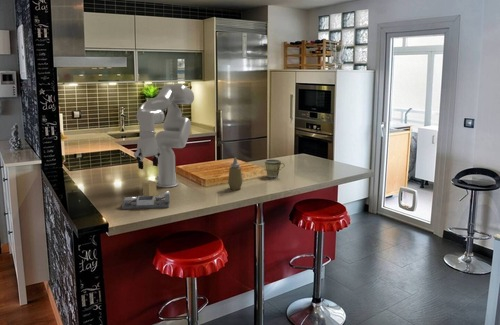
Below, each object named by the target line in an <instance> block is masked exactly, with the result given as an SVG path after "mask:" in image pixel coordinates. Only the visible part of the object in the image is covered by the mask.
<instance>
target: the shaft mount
mask: <svg viewBox="0 0 500 325" xmlns="http://www.w3.org/2000/svg"><path fill="white" fill-rule="evenodd" d="M122 198H123V202H122V205H121V210H122V211H123V210H143V209H144V210H148V209H168V208H169V206H170V203H171V193H170V191H169V190H167V191H165V192H163V193H161V194H157V196H156V197H155V195H152V196H143V195H138V196H127V197H126V196H123V197H122Z"/></svg>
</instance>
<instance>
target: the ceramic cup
mask: <svg viewBox="0 0 500 325" xmlns="http://www.w3.org/2000/svg"><path fill="white" fill-rule="evenodd" d="M264 164H265V165H264V166H265V170H266V176H267V177H268V178H273V177H274V178H278V177H279V173H280V171H281V170H282V169H283V168H284V167H285V162H281V160H280V159H275V158H274V159H271V158H270V159H265V160H264ZM281 165H283V166H282V167H281ZM280 167H281V168H280ZM274 178H273V179H274Z"/></svg>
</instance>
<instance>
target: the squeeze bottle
mask: <svg viewBox="0 0 500 325" xmlns="http://www.w3.org/2000/svg"><path fill="white" fill-rule="evenodd" d="M242 175H243V173H242V167H240V163H238V159H237V157H233V162H232V163H231V164H230V168H229V170H228V180H227V184H228V187H229V189H230V190H233V191H234V190H235V191H237V190H240V189H241V188H242V185H243V176H242Z"/></svg>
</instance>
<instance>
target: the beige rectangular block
mask: <svg viewBox="0 0 500 325" xmlns="http://www.w3.org/2000/svg"><path fill="white" fill-rule="evenodd" d="M156 183H157V181H155V180H145V181H142V196H152V195H155V197H156V196H158V194H157V192H158V191H157V185H156Z"/></svg>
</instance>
